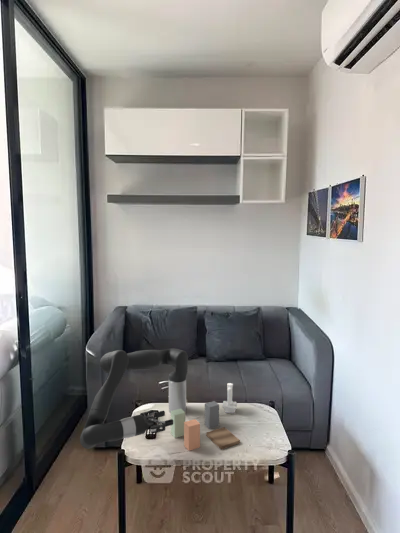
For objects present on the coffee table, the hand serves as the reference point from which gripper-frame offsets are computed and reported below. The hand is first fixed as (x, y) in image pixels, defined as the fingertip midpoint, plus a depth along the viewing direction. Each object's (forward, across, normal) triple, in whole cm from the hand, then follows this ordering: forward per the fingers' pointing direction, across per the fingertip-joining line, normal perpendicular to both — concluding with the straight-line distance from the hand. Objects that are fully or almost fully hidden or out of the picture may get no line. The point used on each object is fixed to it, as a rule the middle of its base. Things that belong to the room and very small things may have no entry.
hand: (168, 417), depth 159 cm
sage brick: (+10, +12, +16) cm, 23 cm away
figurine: (+44, +19, +16) cm, 51 cm away
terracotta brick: (+12, 0, +16) cm, 20 cm away
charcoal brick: (+28, +11, +16) cm, 35 cm away
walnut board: (+26, -2, +16) cm, 31 cm away
